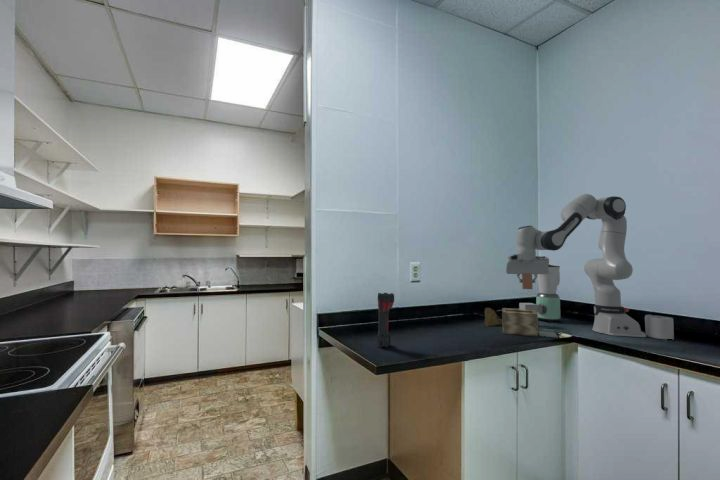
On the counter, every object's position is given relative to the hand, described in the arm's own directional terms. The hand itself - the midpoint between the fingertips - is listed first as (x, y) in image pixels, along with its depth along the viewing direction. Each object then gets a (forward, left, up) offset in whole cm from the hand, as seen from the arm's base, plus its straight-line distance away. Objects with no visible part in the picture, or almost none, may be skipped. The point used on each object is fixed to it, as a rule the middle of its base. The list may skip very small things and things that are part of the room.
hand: (527, 282), depth 173 cm
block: (0, 0, -3) cm, 3 cm away
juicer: (-15, -43, -26) cm, 52 cm away
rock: (+17, -14, -26) cm, 34 cm away
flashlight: (+60, +54, -26) cm, 85 cm away
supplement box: (-2, -21, -26) cm, 33 cm away
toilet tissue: (-60, -19, -26) cm, 68 cm away
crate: (+4, 0, -26) cm, 26 cm away
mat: (-9, 0, -26) cm, 27 cm away
